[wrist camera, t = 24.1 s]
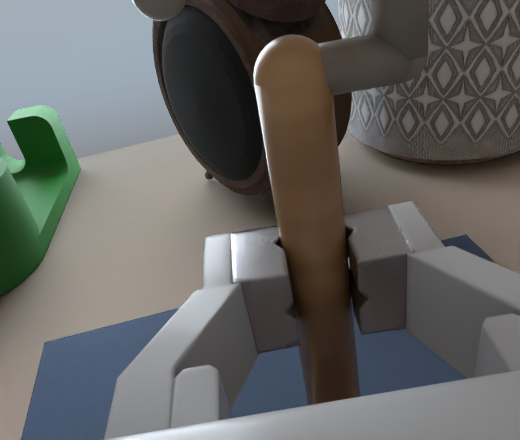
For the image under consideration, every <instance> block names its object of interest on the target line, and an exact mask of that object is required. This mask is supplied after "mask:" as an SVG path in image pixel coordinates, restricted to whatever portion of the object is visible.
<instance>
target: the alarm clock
mask: <svg viewBox="0 0 520 440" xmlns="http://www.w3.org/2000/svg"><path fill="white" fill-rule="evenodd" d="M325 1H326V0H187V1H186V4H185V6H184V8H183V10H182V11H181V12H180V13H179V14H178V15H177V16H176V17H174V18H172V19H169V20H165V21H157V20H153V53H154V62H155V68H156V73H157V77H158V82H159V85H160V88H161V92H162V95H163V98H164V101H165V104H166V106H167V109H168V111H169V113H170V116H171V118H172V120H173V122H174V124H175V126H176V128H177V130H178V132H179V134H180V136H181V137H182V139H183V141H184V142H185V144H186V145H187V147H188V148H189V150H190V151H191V153H192V154H193V155H194V157H195V158H196V159H197V160H198V162H199V163H200V164H201V165H202V166H203V167H204V168H205V169H206V171H207V172H206V173H205V177H206V178H207V179H212V178H213V177H214V178H215V179H217V180H218V181H219V182H220V183H221V184H223V185H224V186H226V187H227V188H229V189H231V190H233V191H235V192H237V193H240V194H244V195H257V194H260V193H263V195H264V196H265V198H266V199H267V200H268V202H269V203H270V205H271V206H272V207H273V209H274V210H275V205H274V199H273V194H272V188H271V182H270V176H269V170H268V164H267V158H266V152H265V146H264V140H263V134H262V128H261V122H260V116H259V110H258V104H257V98H256V92H255V86H254V77H253V74H254V67H255V63H256V60H257V58H258V56H259V54H260V52H261V51H262V50H263V49H264V47H265V46H266V45H267V44H269V43H270V42H271V41H272V40H274V39H276V38H278V37H281V36H284V35H291V34H294V35H302V36H305V37H307V38H310V39H311V40H313V41H315V42H316V43H317V44H318V43H323V42H329V41H334V40H340V39H342V37H341V34H340V31H339V29H338V26H337V24H336V22H335V20H334V18H333V16H332V14H331V12H330V10H329V9H328V7H327V5H326V4H325ZM333 98H334V109H335V121H336V132H337V143H338V146H339V144H340V143H341V141H342V139H343V137H344V135H345V133H346V130H347V127H348V123H349V119H350V113H351V105H352V92H349V93H344V94H338V95H333ZM275 215H276V214H275Z"/></svg>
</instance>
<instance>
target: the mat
mask: <svg viewBox="0 0 520 440" xmlns="http://www.w3.org/2000/svg"><path fill="white" fill-rule="evenodd" d="M442 243H443V244H444V246H445V247H448V246H455V247H457V248H459V249H462V250H464V251H467V252H469V253H471V254H474V255H476V256H478V257H481V258H483V259H486V260H488V261H490V262H493V263H495V262H494V261H493V260H492V259H491V258H489V257H488V256H487V255H486V254H485V253H484V252H483V251H482V250H481V249H480V248H479V247H478V246H477V245H476V244H475V243H474V242H473V241H472V240H471V239H470V238H469V237H468V236H467V235H462V236H458V237H454V238H450V239H446V240H442ZM495 264H496V263H495ZM352 308H353V305H352ZM178 309H179V308H177V309H173V310H169V311H166V312H162V313H158V314H154V315H150V316H146V317H142V318H138V319H134V320H130V321H127V322H123V323H119V324H115V325H111V326H107V327H103V328H99V329H95V330H91V331H88V332H84V333H80V334H76V335H72V336H68V337H64V338H60V339H56V340H52V341H49V342H45V344H44V348H43V352H42V356H41V360H40V365H39V369H38V373H37V377H36V381H35V385H34V389H33V393H32V397H31V401H30V405H29V409H28V413H27V418H26V422H25V426H24V430H23V434H22V438H21V440H104V437H105V432H106V427H107V423H108V418H109V414H110V409H111V405H112V400H113V395H114V391H115V386H116V382H117V378H118V377H119V376H120V374H121V373H122V372H123V371H124V370H125V369H126V368H127V367H128V365H129V364H130V363H131V362H132V361H133V360H134V359H135V358H136V356H137V355H138V354H139V353H140V352H141V351H142V350H143V349H144V347H145V346H146V345H147V344H148V343H149V342H150V341H151V340H152V339H153V337H154V336H155V335H156V334H157V333H158V332H159V331H160V330H161V328H162V327H163V326H164V325H165V324H166V323H167V322H168V321H169V319H170V318H171V317H172V316H173V315H174V314H175V313H176V312H177V310H178ZM353 319H354V330H355V342H356V353H357V364H358V375H359V386H360V397H361V396H367V395H373V394H379V393H385V392H391V391H397V390H403V389H409V388H415V387H421V386H427V385H433V384H439V383H445V382H451V381H457V380H463V379H468V378H466V377H465V376H464V375H462V374H461V373H460V372H458V371H457V370H456V369H455V368H453V367H452V366H451V365H449V364H448V363H447V362H446V361H444V360H443V359H442V358H440V357H439V356H438V355H436V354H435V353H434V352H433V351H431V350H430V349H429V348H427V347H426V346H425V345H424V344H422V343H421V342H420V341H418V340H417V339H416V338H414V337H413V336H412V335H411V334H409V333H408V332H407V331H406V329H401V330H394V331H387V332H380V333H373V334H366V335H361V332H360V329H359V326H358V323H357V321H356V318H355V315H354V312H353ZM302 406H308V402H307V396H306V390H305V384H304V378H303V372H302V366H301V360H300V354H299V348H298V346H296V347H291V348H286V349H281V350H275V351H270V352H265V353H260V354H258V358H257V360H256V362H255V364H254V366H253V368H252V369H251V371H250V373H249V375H248V377H247V379H246V381H245V383H244V385H243V387H242V389H241V391H240V393H239V395H238V397H237V399H236V401H235V403H234V404H233V406H232V408H231V413H232V416H233V418H236V417H242V416H248V415H254V414H260V413H266V412H272V411H278V410H284V409H290V408H296V407H302Z"/></svg>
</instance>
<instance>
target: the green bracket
mask: <svg viewBox="0 0 520 440" xmlns="http://www.w3.org/2000/svg"><path fill="white" fill-rule="evenodd" d="M7 122H8V124H9V126H10V129H11V131H12V133H13V135H14V137H15V139H16V141H17V143H18V145H19V147H20V149H21V151H22V154H23V156H24V158H25V160H15V159H13V158H11V157H9V156H8V155H7V154H6V153H5V152H4V150H3V148H2V146H1V144H0V296H1V295H3V294H5V293H6V292H8V291H10V290H11V289H13V288H14V287H16V286H17V285H18V284H20V283H21V282H22V281H23V280H25V279H26V278H27V277H28V276H29V275H30V274H31V273H32V272H33V271H34V270H35V269H36V268H37V267H38V265H39V264H40V263H41V261H42V259H43V258H44V255H45V253H46V251H47V248H48V246H49V244H50V241H51V239H52V236H53V234H54V232H55V229H56V227H57V224H58V222H59V220H60V217H61V215H62V212H63V210H64V208H65V205H66V203H67V200H68V198H69V196H70V193H71V191H72V188H73V186H74V184H75V181H76V179H77V176H78V174H79V172H80V169H81V168H80V166H79V163H78V161H77V158H76V156H75V154H74V151H73V149H72V146H71V144H70V142H69V139H68V137H67V134H66V132H65V129H64V127H63V125H62V122H61V120H60V118H59V115H58V114H57V112H56V111H55V110H54V109H52V108H50V107H48V106H44V105H40V106H34V107H30V108H24V109H19V110H16V111H15V112H14V113H13V114H12V115H11V117H10V118H9V119H8V120H7Z"/></svg>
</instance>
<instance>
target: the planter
mask: <svg viewBox="0 0 520 440" xmlns="http://www.w3.org/2000/svg"><path fill="white" fill-rule="evenodd" d="M338 6H339V23H340V34H341V37H342V39H345V38H351V37H356V36H361V35H367V34H372V33H373V28H372V7H371V0H338ZM347 129H348V131H349V132H350V133H351V134H352V136H353V137H355V138H356V139H357V140H359V141H360V142H362V143H364V144H366V145H368V146H370V147H372V148H374V149H377V150H380V151H382V152H384V153H386V154H388V155H391V156H394V157H397V158H400V159H404V160H408V161H413V162H419V163H427V164H450V165H454V164H470V163H477V162H484V161H488V160H493V159H497V158H501V157H504V156H507V155H510V154H512V153H514V152H517V151H520V0H428V59H427V62H426V65H425V67H424V69H423V70H422V72H421V73H420V74H419V75H418V76H417V77H415V78H414V79H412V80H410V81H408V82H404V83H399V84H393V85H388V86H382V87H377V88H371V89H366V90H360V91H355V92H352V105H351V113H350V119H349V123H348V127H347Z"/></svg>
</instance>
